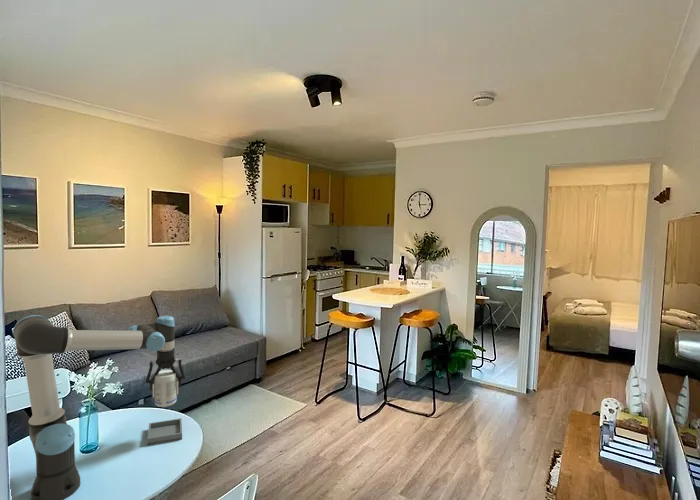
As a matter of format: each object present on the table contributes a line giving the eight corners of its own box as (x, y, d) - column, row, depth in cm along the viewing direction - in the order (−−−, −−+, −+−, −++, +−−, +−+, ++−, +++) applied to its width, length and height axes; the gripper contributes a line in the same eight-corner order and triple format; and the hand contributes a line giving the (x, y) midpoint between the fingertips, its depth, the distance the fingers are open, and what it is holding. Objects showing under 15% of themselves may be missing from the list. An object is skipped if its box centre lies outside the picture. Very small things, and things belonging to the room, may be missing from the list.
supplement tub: (177, 397, 196) (177, 368, 195) (176, 406, 187) (176, 376, 186) (155, 399, 192) (155, 370, 191) (153, 408, 184) (153, 378, 182)
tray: (147, 445, 181) (147, 438, 181) (149, 429, 195) (149, 423, 194) (182, 439, 187) (182, 433, 187) (181, 423, 201) (181, 418, 200)
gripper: (138, 354, 180) (138, 401, 181) (191, 349, 189) (191, 394, 191) (139, 348, 186) (139, 394, 188) (190, 344, 195) (190, 388, 197)
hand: (165, 394), depth 189 cm, fingers closed on supplement tub, 10 cm apart
